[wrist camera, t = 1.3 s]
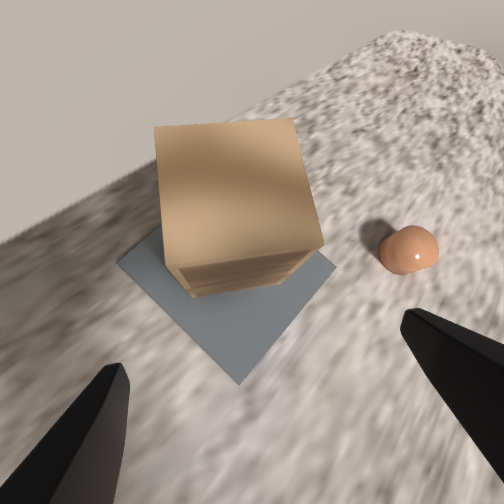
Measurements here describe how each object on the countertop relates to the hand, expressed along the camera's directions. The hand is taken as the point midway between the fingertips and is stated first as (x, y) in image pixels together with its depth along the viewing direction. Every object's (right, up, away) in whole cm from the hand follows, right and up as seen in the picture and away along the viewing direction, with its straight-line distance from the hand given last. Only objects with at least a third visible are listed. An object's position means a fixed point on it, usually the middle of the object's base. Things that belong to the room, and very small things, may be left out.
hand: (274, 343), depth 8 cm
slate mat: (-2, +2, +14) cm, 14 cm away
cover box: (-2, +3, +14) cm, 14 cm away
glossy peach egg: (+12, +3, +16) cm, 20 cm away
